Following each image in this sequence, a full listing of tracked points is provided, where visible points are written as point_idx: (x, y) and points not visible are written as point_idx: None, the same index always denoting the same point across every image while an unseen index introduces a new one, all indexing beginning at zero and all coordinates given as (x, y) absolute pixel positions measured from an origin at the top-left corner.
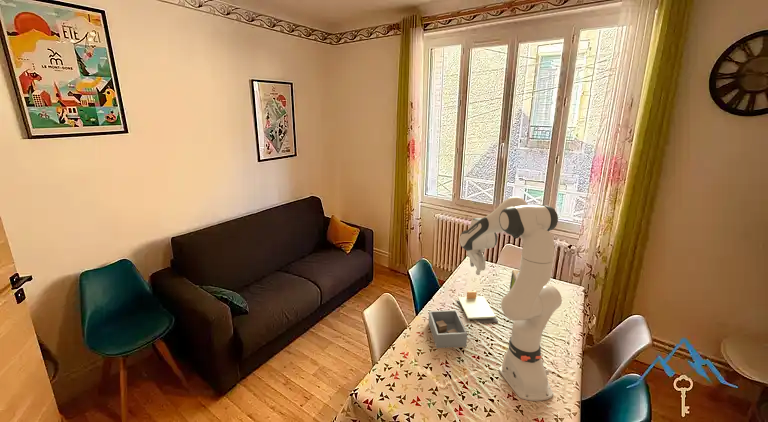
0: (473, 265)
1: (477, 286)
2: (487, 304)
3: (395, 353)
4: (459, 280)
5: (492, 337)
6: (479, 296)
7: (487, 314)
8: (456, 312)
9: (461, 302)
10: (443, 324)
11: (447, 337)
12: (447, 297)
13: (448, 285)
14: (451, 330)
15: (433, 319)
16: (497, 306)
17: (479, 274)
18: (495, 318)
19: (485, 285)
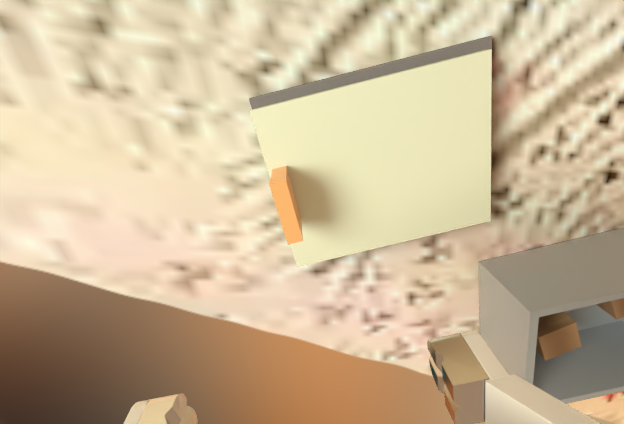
0: (174, 416)
1: (72, 128)
2: (353, 93)
3: (607, 410)
4: (45, 241)
5: (608, 93)
6: (259, 140)
7: (468, 107)
8: (553, 311)
9: (349, 251)
10: (567, 334)
11: None
12: (267, 297)
13: (139, 296)
14: (617, 305)
15: (589, 394)
16: (307, 5)
17: (475, 333)
18: (460, 49)
19: (24, 62)
